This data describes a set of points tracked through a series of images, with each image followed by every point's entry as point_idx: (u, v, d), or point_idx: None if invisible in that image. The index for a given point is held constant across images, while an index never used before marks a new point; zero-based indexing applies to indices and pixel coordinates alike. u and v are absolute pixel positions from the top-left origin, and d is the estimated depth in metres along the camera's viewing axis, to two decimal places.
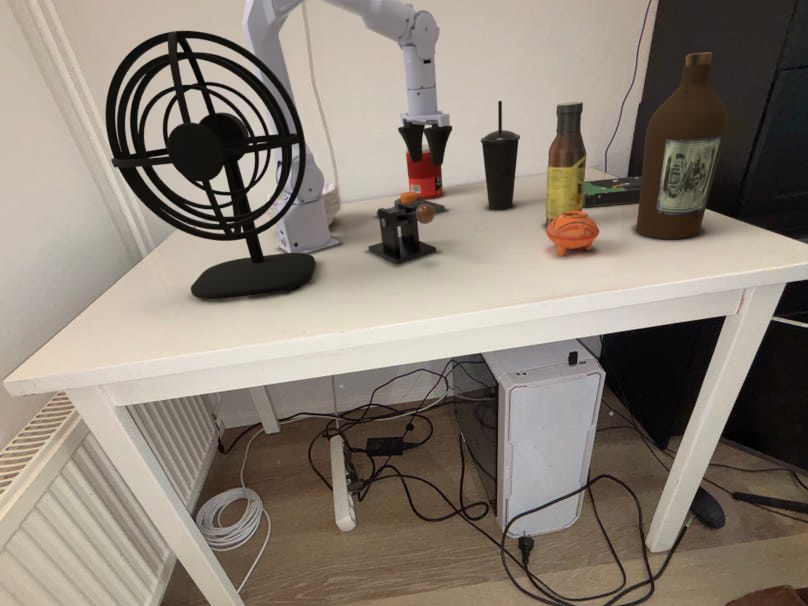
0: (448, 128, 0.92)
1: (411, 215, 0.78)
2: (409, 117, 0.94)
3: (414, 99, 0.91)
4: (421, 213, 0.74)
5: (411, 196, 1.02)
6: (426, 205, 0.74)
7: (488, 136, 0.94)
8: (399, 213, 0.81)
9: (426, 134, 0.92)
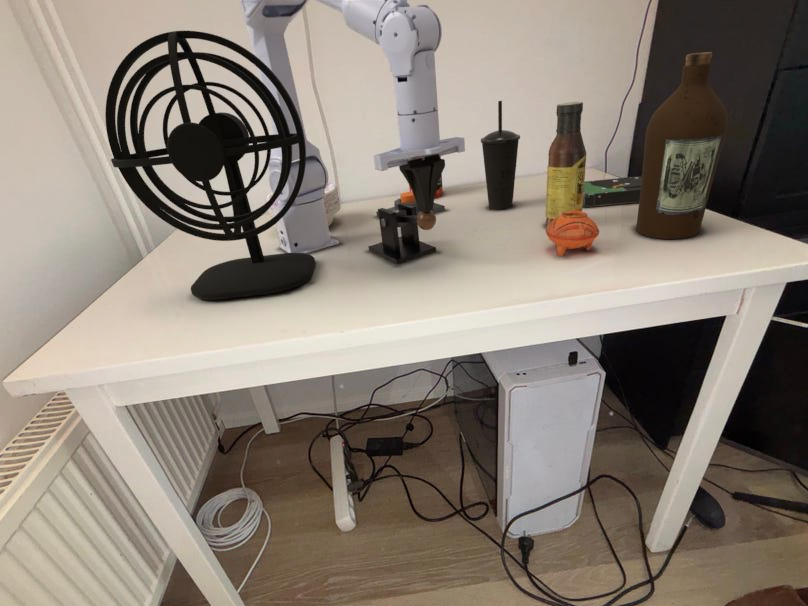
0: (412, 169, 0.69)
1: (412, 219, 0.78)
2: None
3: None
4: (422, 220, 0.74)
5: (411, 196, 1.02)
6: (428, 212, 0.74)
7: (488, 136, 0.94)
8: (399, 214, 0.81)
9: None
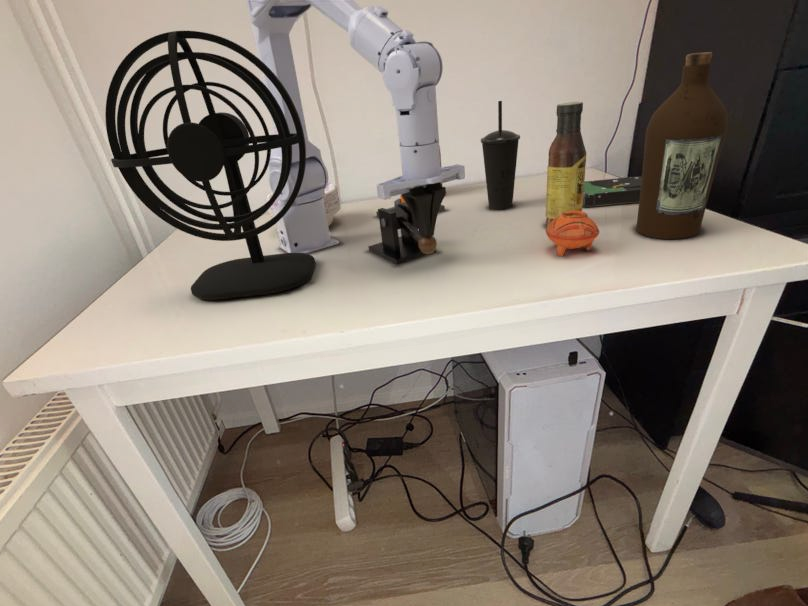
0: (414, 198, 0.71)
1: (413, 234, 0.79)
2: None
3: None
4: (424, 247, 0.76)
5: None
6: (431, 240, 0.76)
7: (488, 136, 0.94)
8: (400, 218, 0.81)
9: None
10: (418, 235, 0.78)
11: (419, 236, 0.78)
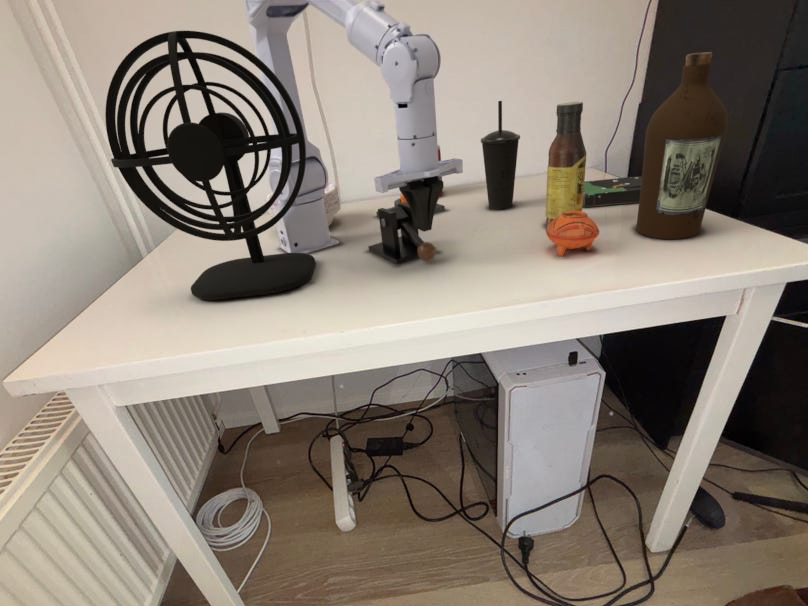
0: (411, 191, 0.71)
1: (413, 239, 0.80)
2: None
3: None
4: (423, 255, 0.78)
5: None
6: (430, 249, 0.77)
7: (488, 136, 0.94)
8: (401, 220, 0.81)
9: None
10: (418, 241, 0.79)
11: (418, 242, 0.79)
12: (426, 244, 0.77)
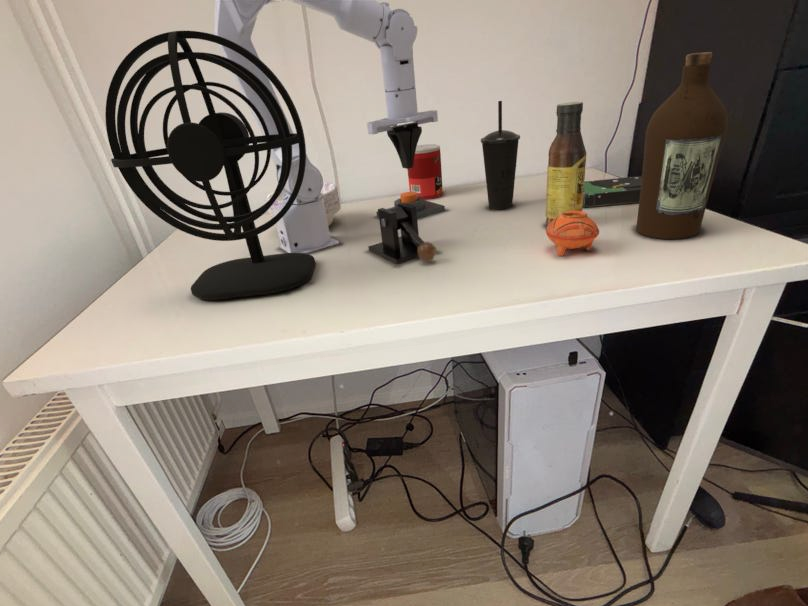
0: (396, 134, 0.91)
1: (413, 239, 0.80)
2: None
3: None
4: (423, 255, 0.78)
5: (411, 196, 1.02)
6: (430, 249, 0.77)
7: (488, 136, 0.94)
8: (401, 220, 0.81)
9: None
10: (418, 241, 0.79)
11: (418, 242, 0.79)
12: (426, 244, 0.77)
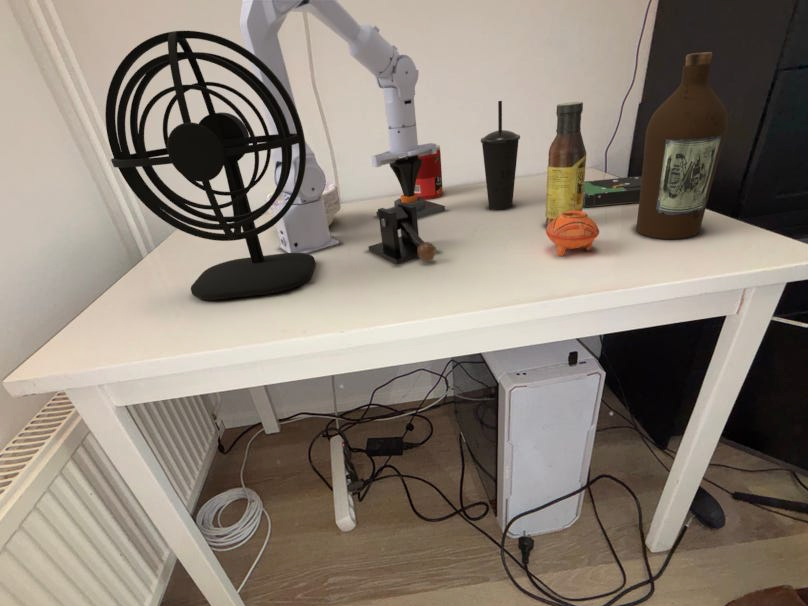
0: (398, 166, 0.98)
1: (413, 239, 0.80)
2: None
3: None
4: (423, 255, 0.78)
5: (411, 198, 1.02)
6: (430, 249, 0.77)
7: (488, 136, 0.94)
8: (401, 220, 0.81)
9: None
10: (418, 241, 0.79)
11: (418, 242, 0.79)
12: (426, 244, 0.77)
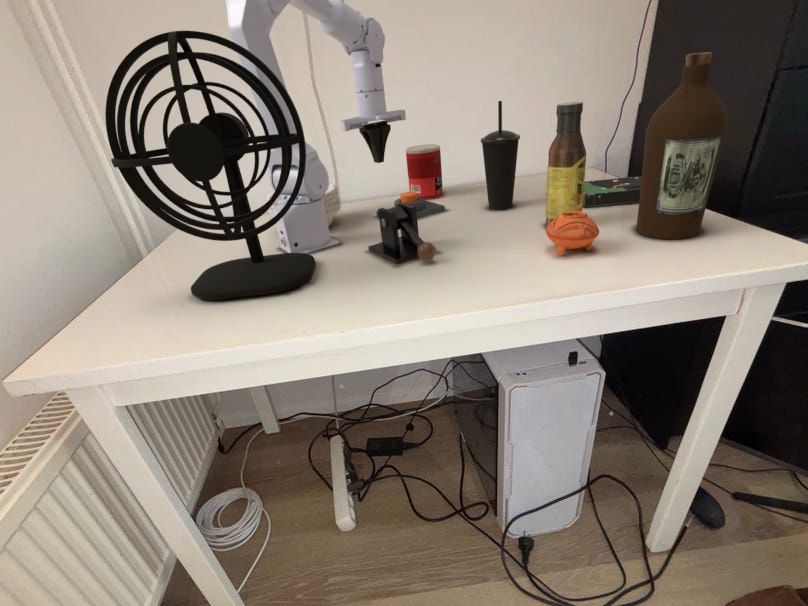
0: (367, 131, 1.00)
1: (413, 239, 0.80)
2: None
3: None
4: (423, 255, 0.78)
5: (411, 196, 1.02)
6: (430, 249, 0.77)
7: (488, 136, 0.94)
8: (401, 220, 0.81)
9: None
10: (418, 241, 0.79)
11: (418, 242, 0.79)
12: (426, 244, 0.77)
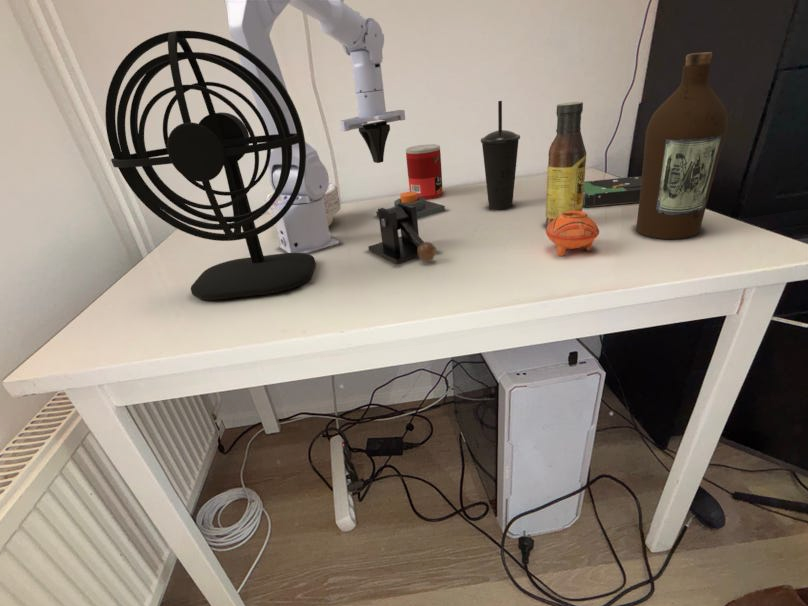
0: (366, 131, 1.00)
1: (413, 239, 0.80)
2: None
3: None
4: (423, 255, 0.78)
5: (411, 196, 1.02)
6: (430, 249, 0.77)
7: (488, 136, 0.94)
8: (401, 220, 0.81)
9: None
10: (418, 241, 0.79)
11: (418, 242, 0.79)
12: (426, 244, 0.77)
